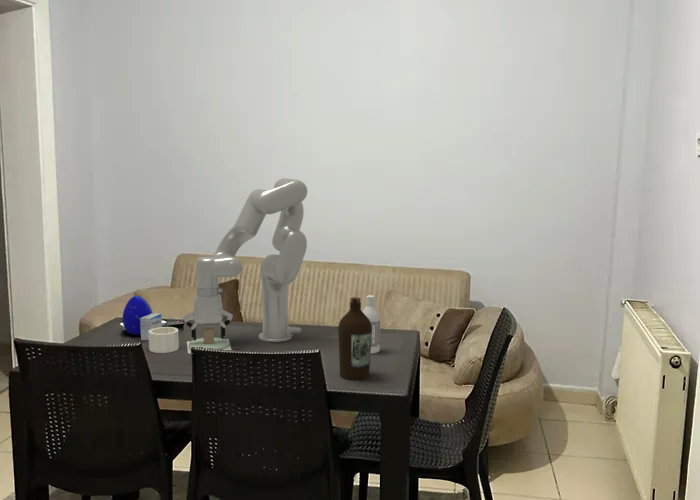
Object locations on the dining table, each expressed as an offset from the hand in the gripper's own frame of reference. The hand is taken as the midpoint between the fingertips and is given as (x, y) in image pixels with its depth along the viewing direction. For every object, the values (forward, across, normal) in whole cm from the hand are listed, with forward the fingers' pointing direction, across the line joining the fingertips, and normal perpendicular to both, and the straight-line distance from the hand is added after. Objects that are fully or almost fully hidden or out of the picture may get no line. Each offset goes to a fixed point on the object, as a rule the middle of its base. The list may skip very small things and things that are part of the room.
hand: (208, 338), depth 250 cm
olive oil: (+3, -43, +41) cm, 60 cm away
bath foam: (+3, -55, +17) cm, 58 cm away
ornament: (+3, +25, -23) cm, 34 cm away
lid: (+3, 0, 0) cm, 3 cm away
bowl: (+3, +15, 0) cm, 16 cm away
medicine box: (+4, +20, -17) cm, 26 cm away
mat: (+3, 0, 0) cm, 3 cm away
